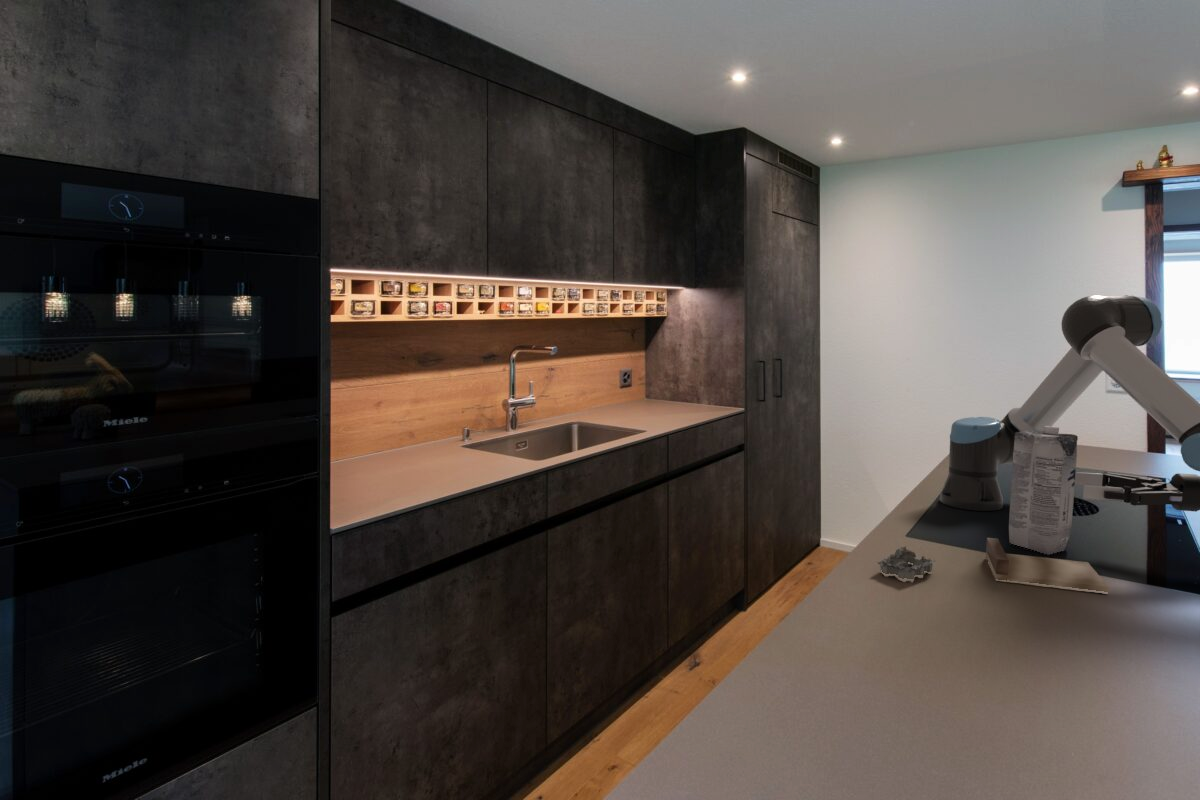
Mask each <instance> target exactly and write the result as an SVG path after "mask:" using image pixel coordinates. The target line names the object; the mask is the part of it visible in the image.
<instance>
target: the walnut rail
mask: <svg viewBox="0 0 1200 800" xmlns="http://www.w3.org/2000/svg"><path fill="white" fill-rule="evenodd" d="M985 545H986V547H985V553H986V552H987V555H988V557H989V559H990V561H991V564H992V566H993V568H994V570H995V573H996V574H1001V575H1008V567H1009V559H1008V557H1007V555H1006V554H1007V553H1006V551H1005V550H1004V549H1003V548H1004V547H1003V546H1002V544H1001V542H1000V540H999V538H995V537H994V538H993V537H986V544H985ZM1005 553H1006V554H1005Z"/></svg>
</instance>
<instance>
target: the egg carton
mask: <svg viewBox="0 0 1200 800" xmlns="http://www.w3.org/2000/svg"><path fill="white" fill-rule="evenodd" d="M908 562H910V563H913V565H911V567H910V566H909V565H908ZM933 562H936V560H935V559H932V558H930V557H929V558H926V557H925V556H924V555H921V558H918V557H917V555H916V552H915V551H913V550H909V549H907V546H903V547H902V546H901V547H900V548H897V550H895V552H894V553H891V554H890V555H889V556H887V557H884V558H883V559H882V560H881V561H878V562H877V564H878V565H879V567H880V571H881V570H882V572H883V573H885V574H889V573H890V574H896V575H898V577H899V578H902V579H904V578H907V579H914V580H915V578H914V576H915V575H923V576H924V575H925V574H924V571H927V572H931V571H932V572H933V566H934V565H933Z"/></svg>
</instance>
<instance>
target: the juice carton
mask: <svg viewBox="0 0 1200 800" xmlns="http://www.w3.org/2000/svg"><path fill="white" fill-rule="evenodd" d="M1078 439H1079V437H1078V435H1077V434H1071V433H1060V427H1057V426H1052V427H1049V426H1044V430H1043V431H1042V430H1028V431H1022V432H1016V433H1015V441H1014V452H1013V464H1012V468H1011V469H1012V470H1011V483H1010V501H1009V514H1008V515H1009V518H1008V539H1009V544H1010V543H1011V544H1014V545H1017V546H1021V547H1025V548H1028V549H1031V550H1030V551H1032V550H1034V551H1033V552H1035V551H1037V552H1036V553H1038V552H1040V553H1039V554H1042V553H1044V554H1043V555H1046V554H1047V556H1050V554H1051V555H1053V553H1054V554H1057V552H1058V553H1062V552H1065V551H1067V549H1068V547H1069V544H1070V539H1071V535H1072V525H1073V513H1074V512H1073V511H1074V510H1073V509H1074V499H1075V487H1076V485H1075V473H1076V472H1077V471H1076V470H1077V456H1078V455H1077V452H1078V448H1077V447H1078ZM1011 544H1010V545H1011ZM1014 545H1013V546H1014ZM1017 546H1016V547H1017ZM1021 547H1020V548H1021ZM1025 548H1024V549H1025ZM1028 549H1027V550H1028ZM1061 551H1062V552H1061Z"/></svg>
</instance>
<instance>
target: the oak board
mask: <svg viewBox="0 0 1200 800" xmlns="http://www.w3.org/2000/svg"><path fill="white" fill-rule="evenodd" d="M1005 554H1006V555H1007V557H1008V559H1009V567H1008V575H1001V574H996V573H995V570H994V568H993V566H992V564H991V561H990V559H989V557H988V555H987V552H986V551H985V559H986V558H987V560H988V562H989V565H990V567H991V569H992V572H993V574H994V576H995V579H998V580H1006V581H1007V580H1009V581H1018V582H1029V583H1039V584H1046V585H1055V586H1062V587H1072V588H1079V589H1088V590H1096V591H1104V592H1108V593H1109V586H1108V585H1107V583H1106V582H1105V581H1104V580H1103V578H1102V577H1101V576H1100V575H1099V574H1098V573H1097V571H1096V570H1095V569H1094V568H1093V567H1092V566H1091V564H1090V563H1089V562H1088V561H1082V560H1081V561H1080V560H1079V561H1078V560H1070V559H1061V558H1050V557H1042V556H1034V555H1033V556H1032V555H1024V554H1014V553H1006V552H1005ZM987 560H986V561H987ZM989 565H988V566H989ZM990 567H989V568H990ZM992 572H991V573H992ZM993 574H992V575H993ZM995 579H994V580H995Z"/></svg>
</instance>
